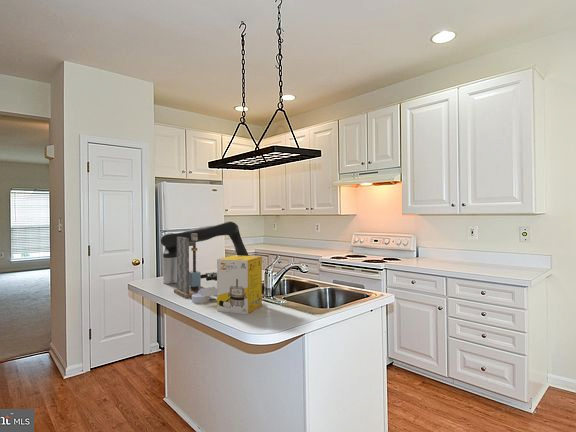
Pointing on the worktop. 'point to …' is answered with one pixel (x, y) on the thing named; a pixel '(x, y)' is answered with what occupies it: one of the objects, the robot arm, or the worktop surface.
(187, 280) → the grey rod stand
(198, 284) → the sleeve
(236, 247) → the robot arm
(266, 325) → the worktop surface
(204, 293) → the wedge on round base
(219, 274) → the packaging box
